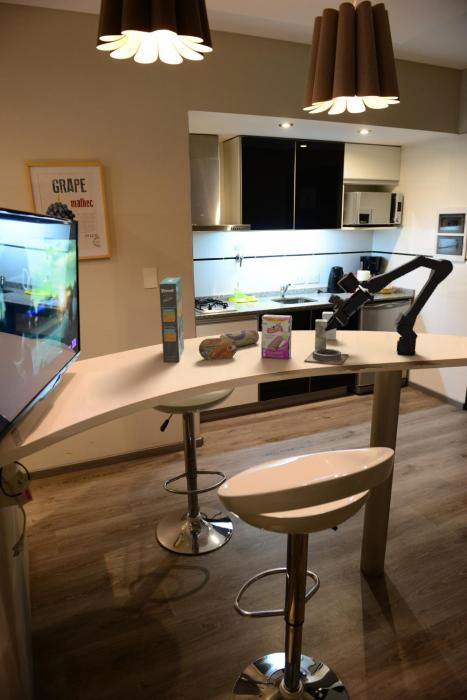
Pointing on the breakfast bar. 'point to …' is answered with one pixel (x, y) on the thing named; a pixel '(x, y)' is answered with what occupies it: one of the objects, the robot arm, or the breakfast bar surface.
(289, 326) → the candy bar box
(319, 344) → the peg
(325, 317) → the skincare box
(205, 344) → the brown printed food package
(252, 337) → the beige packaged roll
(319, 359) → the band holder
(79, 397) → the breakfast bar surface
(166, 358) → the cake mix box
